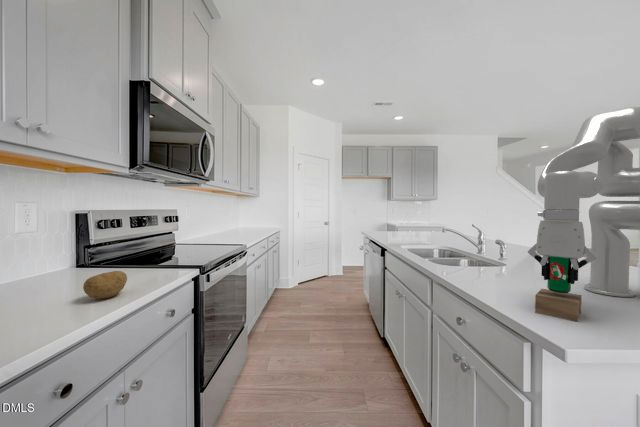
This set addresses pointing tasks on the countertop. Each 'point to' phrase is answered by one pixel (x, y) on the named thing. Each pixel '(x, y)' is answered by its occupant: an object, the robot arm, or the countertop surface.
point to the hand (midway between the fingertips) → (559, 280)
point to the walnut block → (558, 304)
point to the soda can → (559, 274)
